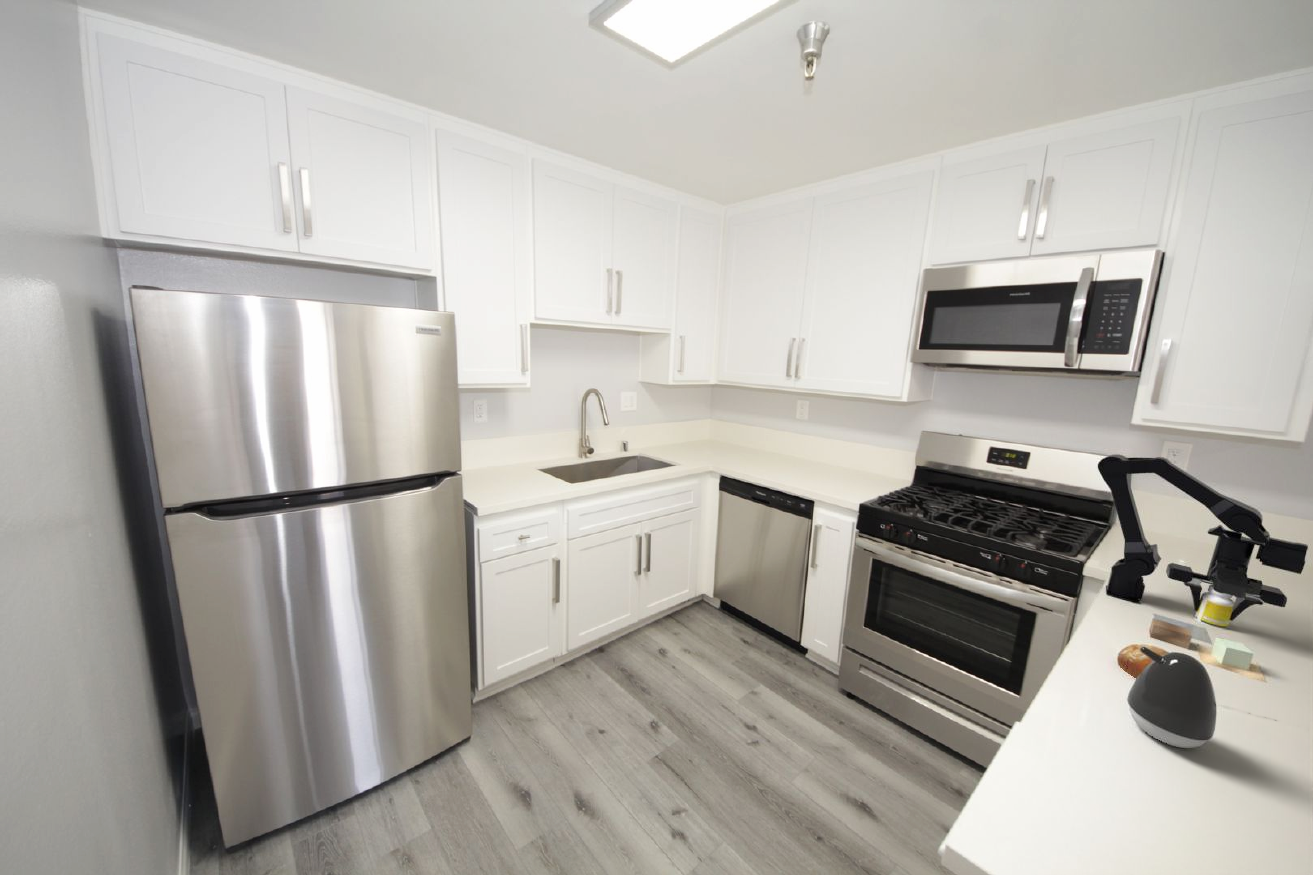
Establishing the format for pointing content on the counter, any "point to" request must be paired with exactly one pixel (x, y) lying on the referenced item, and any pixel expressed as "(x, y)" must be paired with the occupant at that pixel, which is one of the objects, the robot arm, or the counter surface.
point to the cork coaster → (1210, 659)
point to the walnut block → (1170, 633)
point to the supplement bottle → (1215, 609)
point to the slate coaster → (1196, 631)
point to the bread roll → (1136, 658)
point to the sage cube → (1232, 654)
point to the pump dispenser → (1174, 700)
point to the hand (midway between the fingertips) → (1212, 615)
